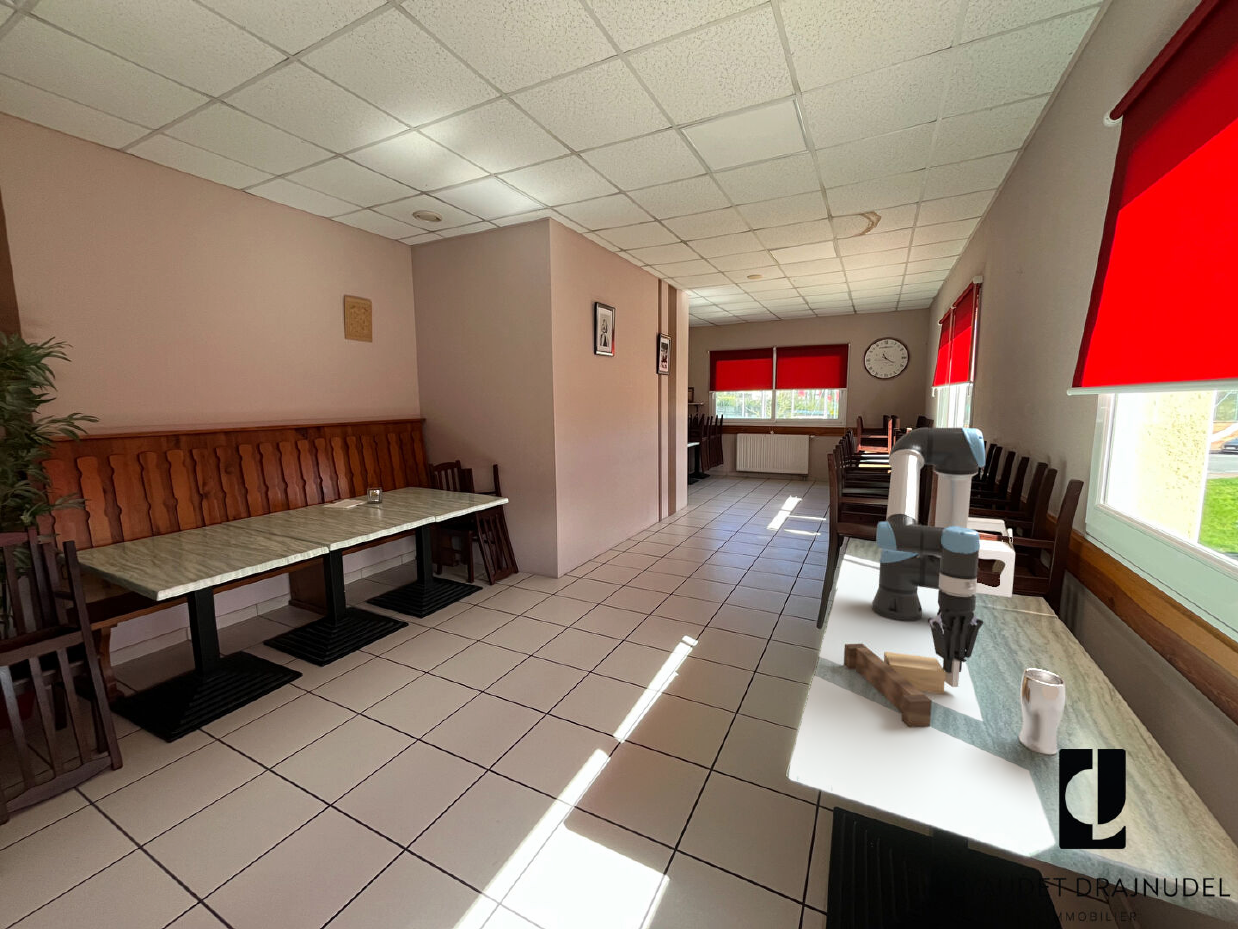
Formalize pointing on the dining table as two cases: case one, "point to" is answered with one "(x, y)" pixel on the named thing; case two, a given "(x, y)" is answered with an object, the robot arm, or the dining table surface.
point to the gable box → (996, 555)
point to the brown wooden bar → (890, 685)
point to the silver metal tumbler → (1041, 709)
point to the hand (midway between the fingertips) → (951, 683)
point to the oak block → (918, 671)
